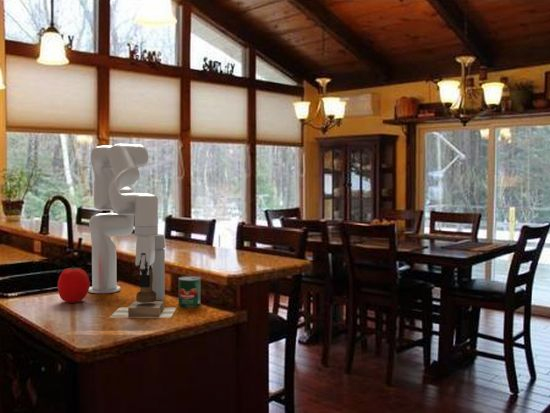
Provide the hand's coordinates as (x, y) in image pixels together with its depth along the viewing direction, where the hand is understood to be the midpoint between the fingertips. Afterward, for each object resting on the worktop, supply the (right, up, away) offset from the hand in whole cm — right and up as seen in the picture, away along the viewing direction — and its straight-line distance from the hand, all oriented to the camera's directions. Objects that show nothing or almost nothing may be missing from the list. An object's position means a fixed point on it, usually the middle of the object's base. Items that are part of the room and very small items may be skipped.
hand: (146, 285), depth 189 cm
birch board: (-1, -11, +2) cm, 11 cm away
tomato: (-32, -9, +20) cm, 39 cm away
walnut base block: (0, -10, +1) cm, 10 cm away
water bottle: (-3, -9, +24) cm, 26 cm away
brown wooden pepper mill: (0, -5, 0) cm, 5 cm away
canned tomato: (+13, -10, +13) cm, 21 cm away
